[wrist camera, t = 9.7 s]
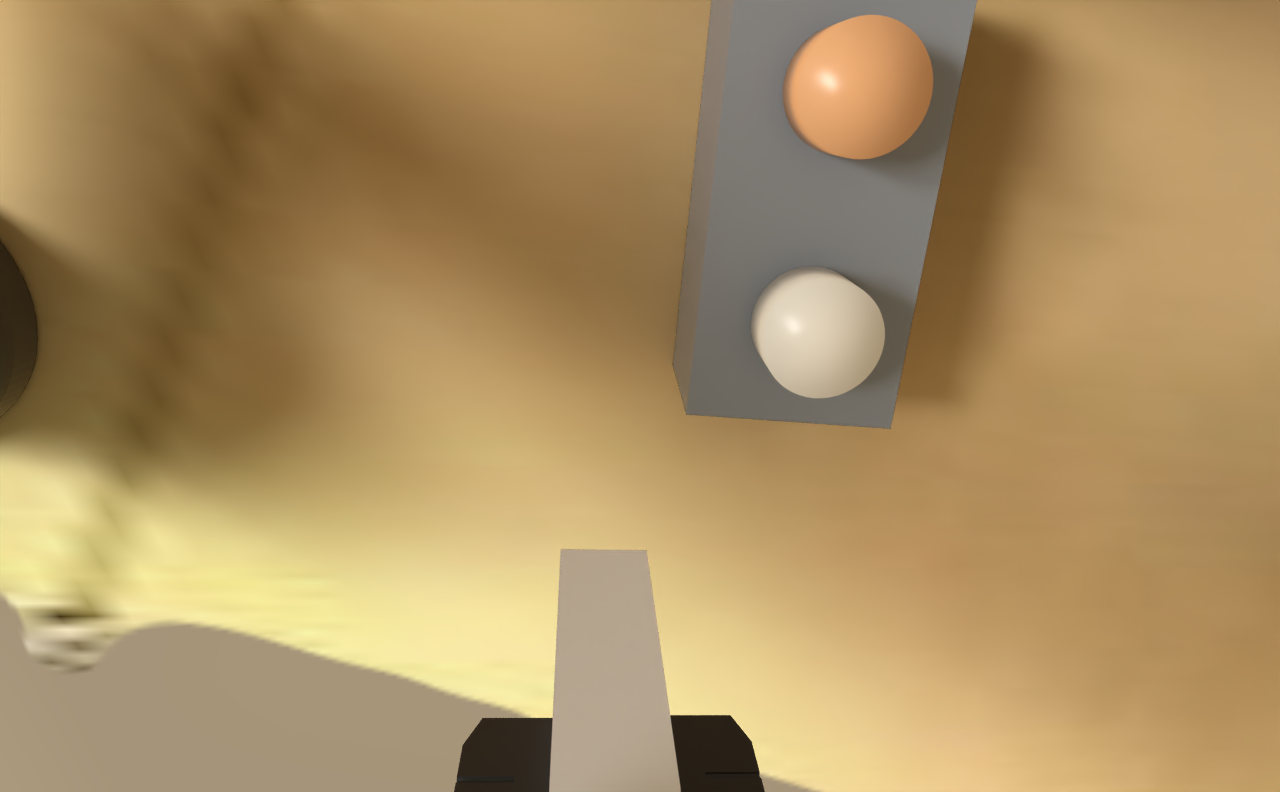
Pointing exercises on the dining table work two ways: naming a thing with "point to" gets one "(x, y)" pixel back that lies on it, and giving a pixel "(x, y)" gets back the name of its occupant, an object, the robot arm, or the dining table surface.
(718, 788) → the robot arm
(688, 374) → the console
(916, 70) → the knob
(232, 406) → the dining table surface
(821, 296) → the knob
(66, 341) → the dining table surface
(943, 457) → the dining table surface
